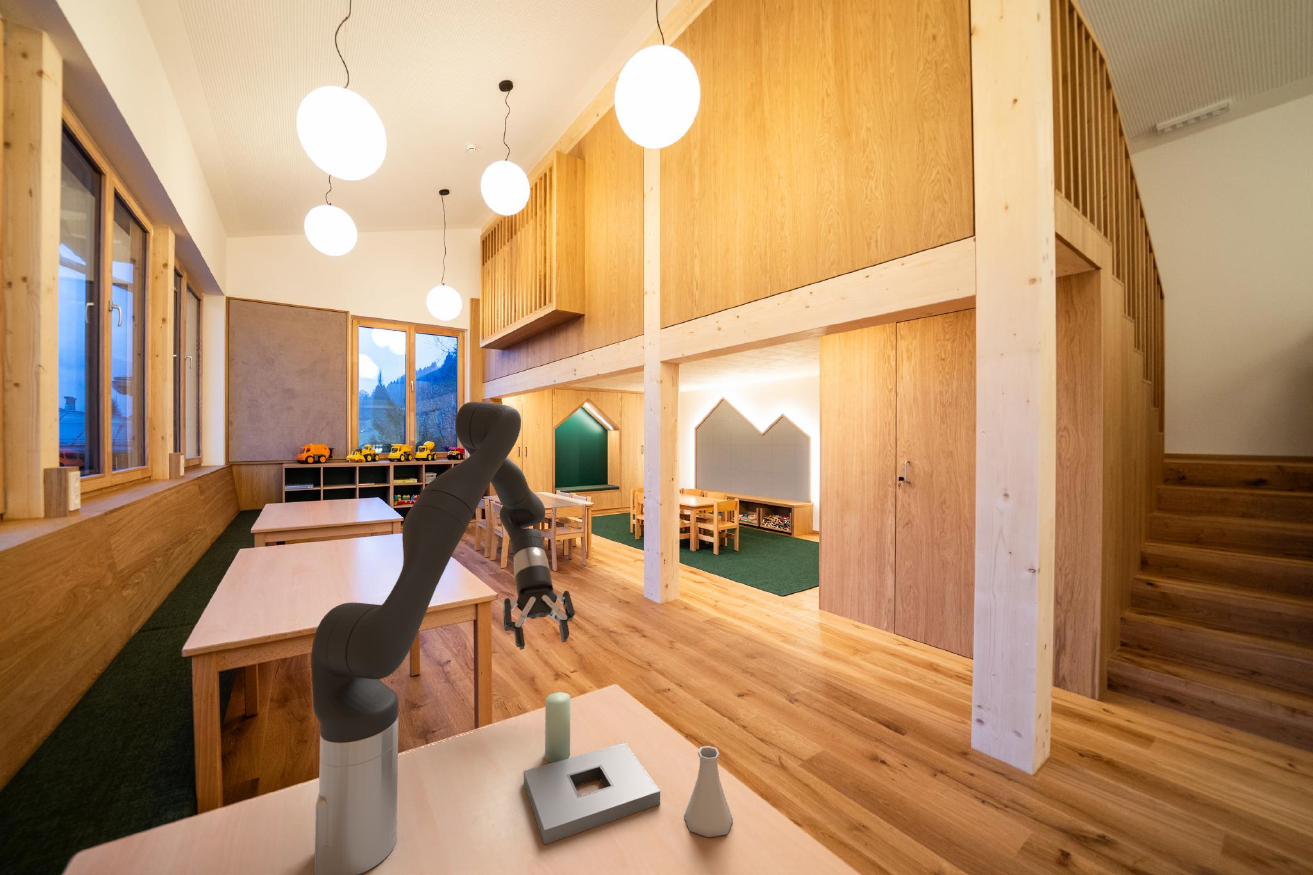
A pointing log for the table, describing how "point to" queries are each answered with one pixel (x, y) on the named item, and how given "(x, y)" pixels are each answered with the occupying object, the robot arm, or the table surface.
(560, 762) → the socket plate
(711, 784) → the flask
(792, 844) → the table surface
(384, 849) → the robot arm
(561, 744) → the peg
